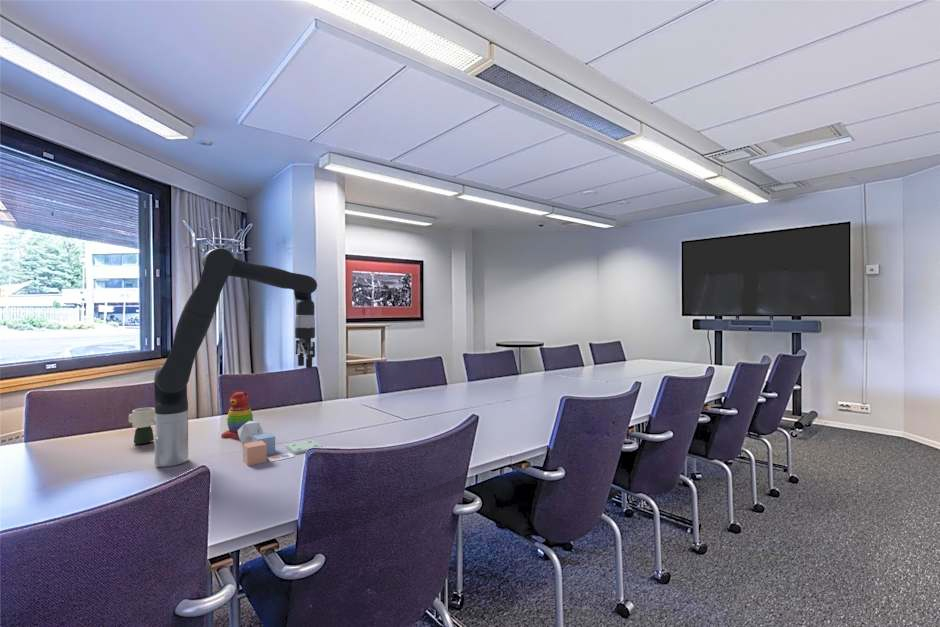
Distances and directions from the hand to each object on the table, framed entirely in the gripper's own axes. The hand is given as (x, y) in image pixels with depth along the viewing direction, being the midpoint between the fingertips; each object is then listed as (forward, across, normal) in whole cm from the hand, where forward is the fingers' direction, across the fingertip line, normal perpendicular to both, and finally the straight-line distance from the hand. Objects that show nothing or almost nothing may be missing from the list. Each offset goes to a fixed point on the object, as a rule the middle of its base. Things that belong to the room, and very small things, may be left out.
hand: (304, 366), depth 178 cm
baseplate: (+29, +12, -5) cm, 31 cm away
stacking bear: (+29, -22, -18) cm, 41 cm away
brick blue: (+29, +7, -17) cm, 35 cm away
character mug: (+29, -34, -49) cm, 66 cm away
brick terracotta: (+29, +15, -23) cm, 40 cm away
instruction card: (+29, +17, -15) cm, 36 cm away
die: (+29, -8, -18) cm, 35 cm away
